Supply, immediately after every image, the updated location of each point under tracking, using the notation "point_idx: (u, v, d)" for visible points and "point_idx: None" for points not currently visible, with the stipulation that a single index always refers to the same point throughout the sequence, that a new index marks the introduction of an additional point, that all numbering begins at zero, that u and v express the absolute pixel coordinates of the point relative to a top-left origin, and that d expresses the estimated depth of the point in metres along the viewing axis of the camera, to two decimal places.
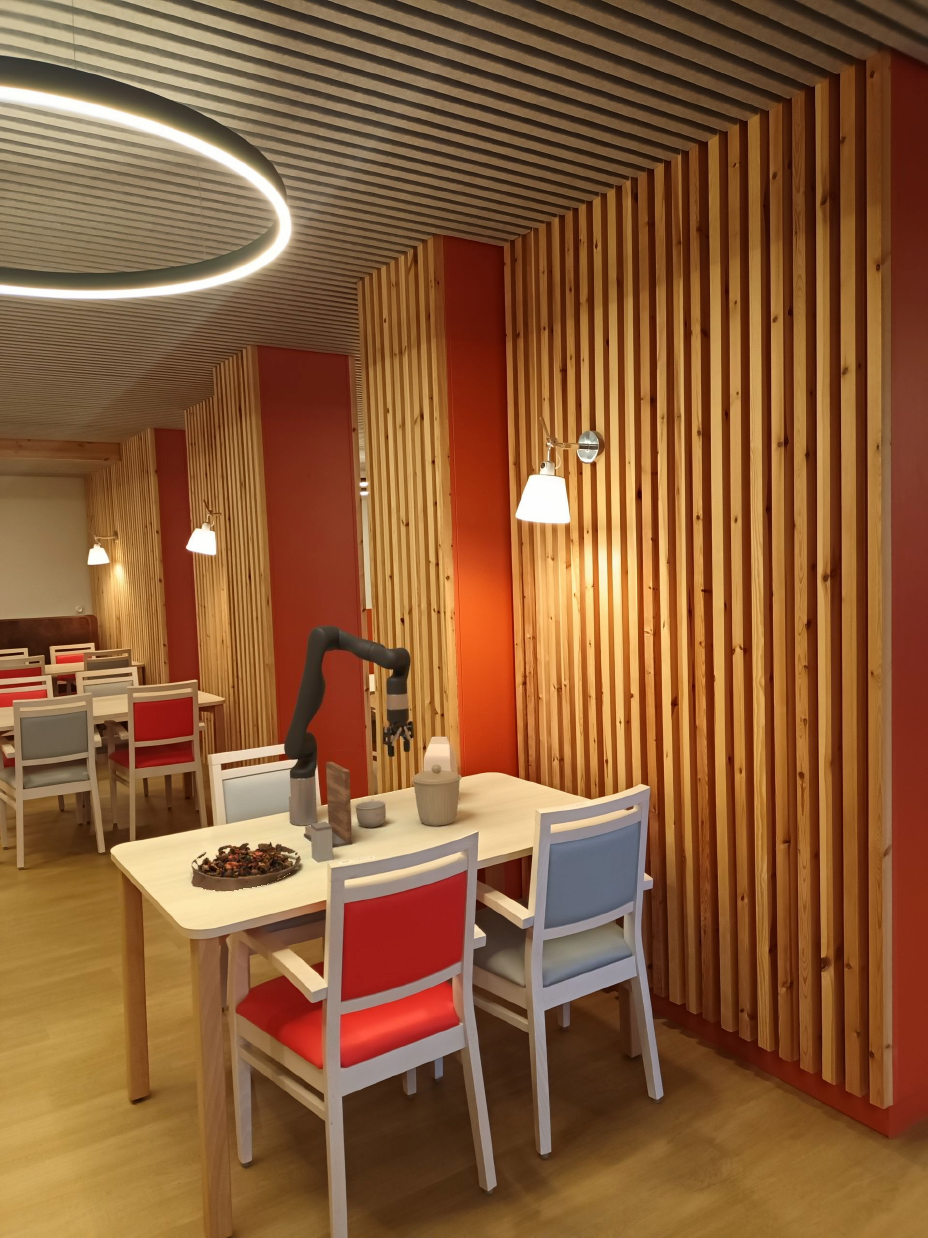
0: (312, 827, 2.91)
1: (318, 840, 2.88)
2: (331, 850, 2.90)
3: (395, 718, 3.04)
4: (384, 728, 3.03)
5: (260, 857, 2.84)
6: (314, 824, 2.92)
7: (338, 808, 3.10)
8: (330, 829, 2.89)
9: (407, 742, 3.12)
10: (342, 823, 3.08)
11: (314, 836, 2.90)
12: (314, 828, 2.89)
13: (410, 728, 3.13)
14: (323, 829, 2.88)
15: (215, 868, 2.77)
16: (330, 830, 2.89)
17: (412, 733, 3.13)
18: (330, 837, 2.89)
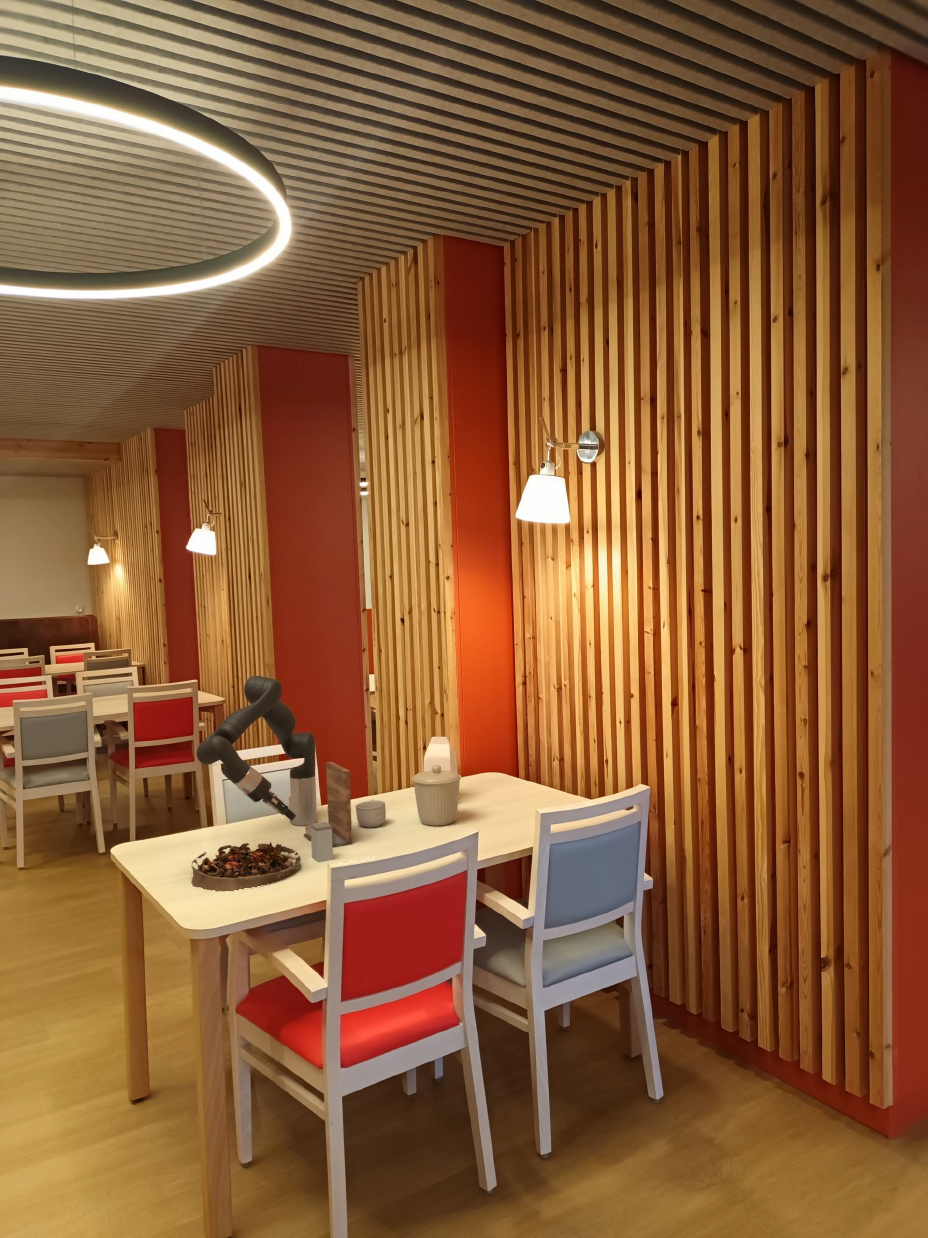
0: (312, 827, 2.91)
1: (318, 840, 2.88)
2: (331, 850, 2.90)
3: None
4: None
5: (260, 857, 2.84)
6: (314, 824, 2.92)
7: (338, 808, 3.10)
8: (330, 829, 2.89)
9: None
10: (342, 823, 3.08)
11: (314, 836, 2.90)
12: (314, 828, 2.89)
13: None
14: (323, 829, 2.88)
15: (215, 868, 2.77)
16: (330, 830, 2.89)
17: (279, 810, 2.77)
18: (330, 837, 2.89)
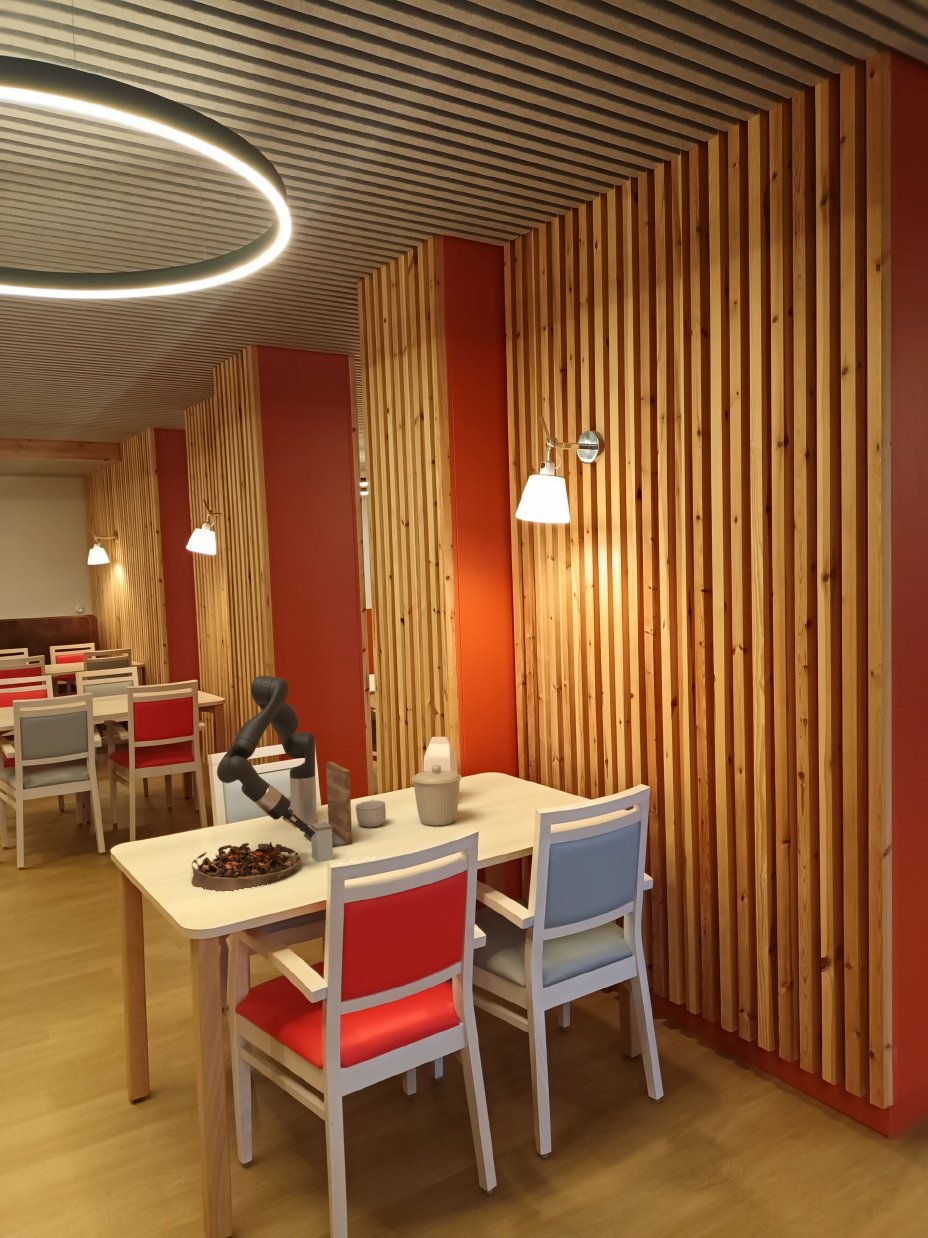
0: (312, 827, 2.91)
1: (318, 840, 2.88)
2: (331, 850, 2.90)
3: None
4: None
5: (260, 857, 2.84)
6: (314, 824, 2.92)
7: (338, 808, 3.10)
8: (330, 829, 2.89)
9: None
10: (342, 823, 3.08)
11: (314, 836, 2.90)
12: (314, 828, 2.89)
13: None
14: (323, 829, 2.88)
15: (215, 868, 2.77)
16: (330, 830, 2.89)
17: None
18: (330, 837, 2.89)
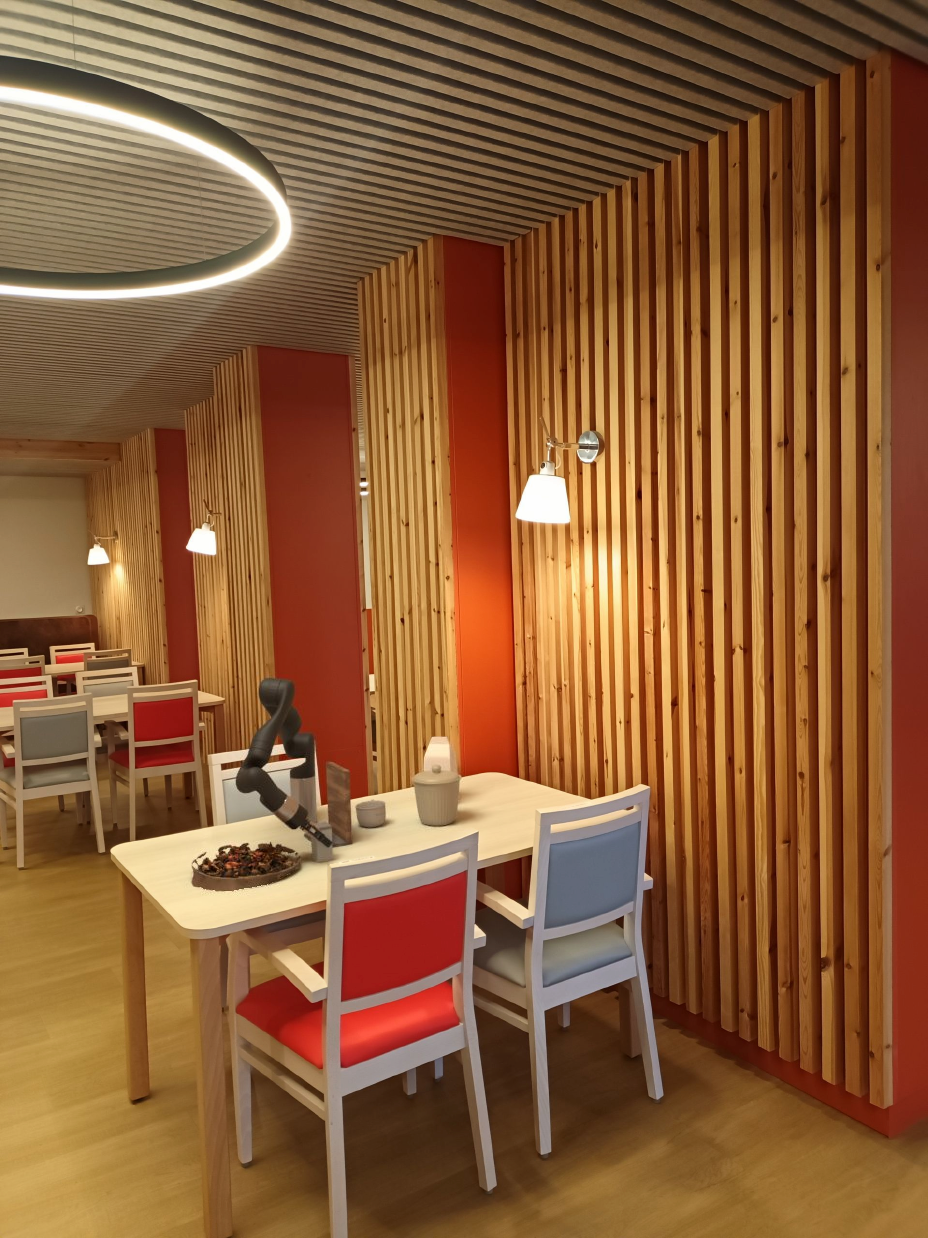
0: None
1: None
2: (331, 850, 2.90)
3: None
4: None
5: (260, 857, 2.84)
6: (314, 824, 2.92)
7: (338, 808, 3.10)
8: (330, 829, 2.89)
9: None
10: (342, 823, 3.08)
11: None
12: None
13: None
14: (323, 829, 2.88)
15: (215, 868, 2.77)
16: (330, 830, 2.89)
17: (316, 838, 2.85)
18: (330, 837, 2.89)
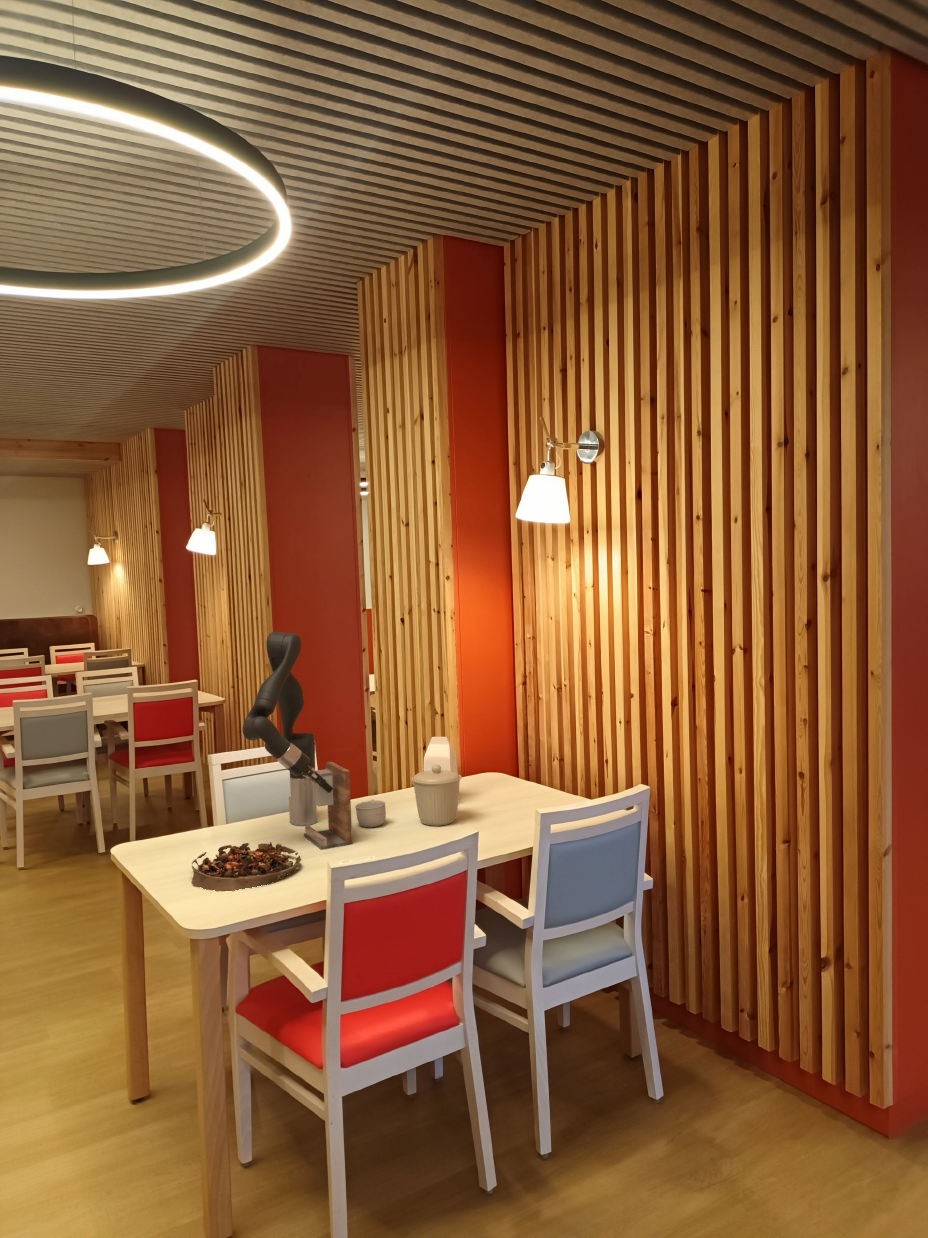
0: None
1: (319, 786, 3.06)
2: (332, 795, 3.08)
3: None
4: None
5: (260, 857, 2.84)
6: (316, 771, 3.10)
7: (338, 808, 3.10)
8: (331, 775, 3.08)
9: None
10: (342, 823, 3.08)
11: None
12: None
13: None
14: (324, 775, 3.07)
15: (215, 868, 2.77)
16: (331, 776, 3.08)
17: (318, 784, 3.03)
18: (331, 783, 3.08)
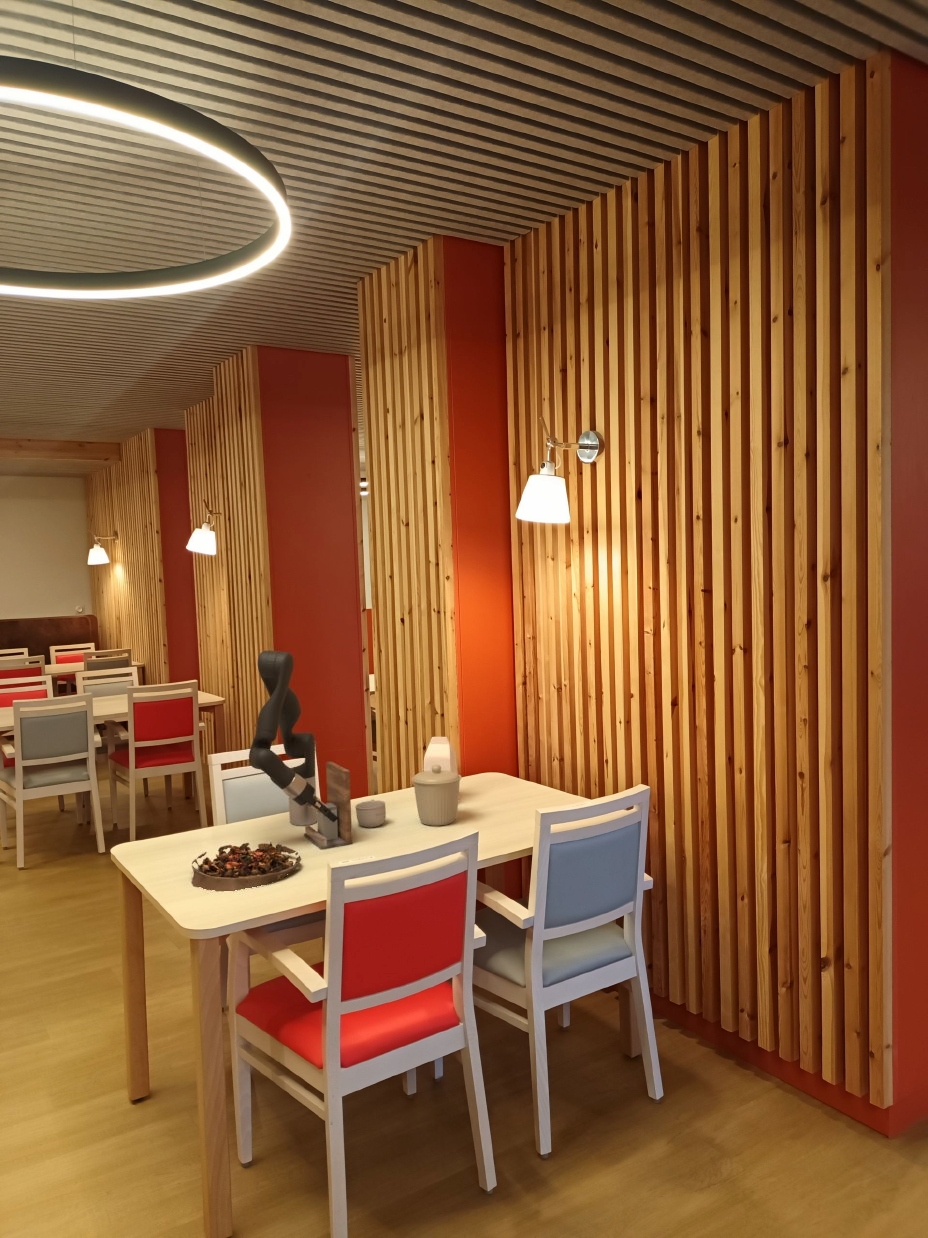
0: None
1: (324, 820, 3.07)
2: (336, 829, 3.10)
3: None
4: None
5: (260, 857, 2.84)
6: None
7: (338, 808, 3.10)
8: (335, 809, 3.09)
9: None
10: (342, 823, 3.08)
11: (320, 816, 3.10)
12: None
13: None
14: None
15: (215, 868, 2.77)
16: (335, 810, 3.09)
17: (322, 813, 3.04)
18: None
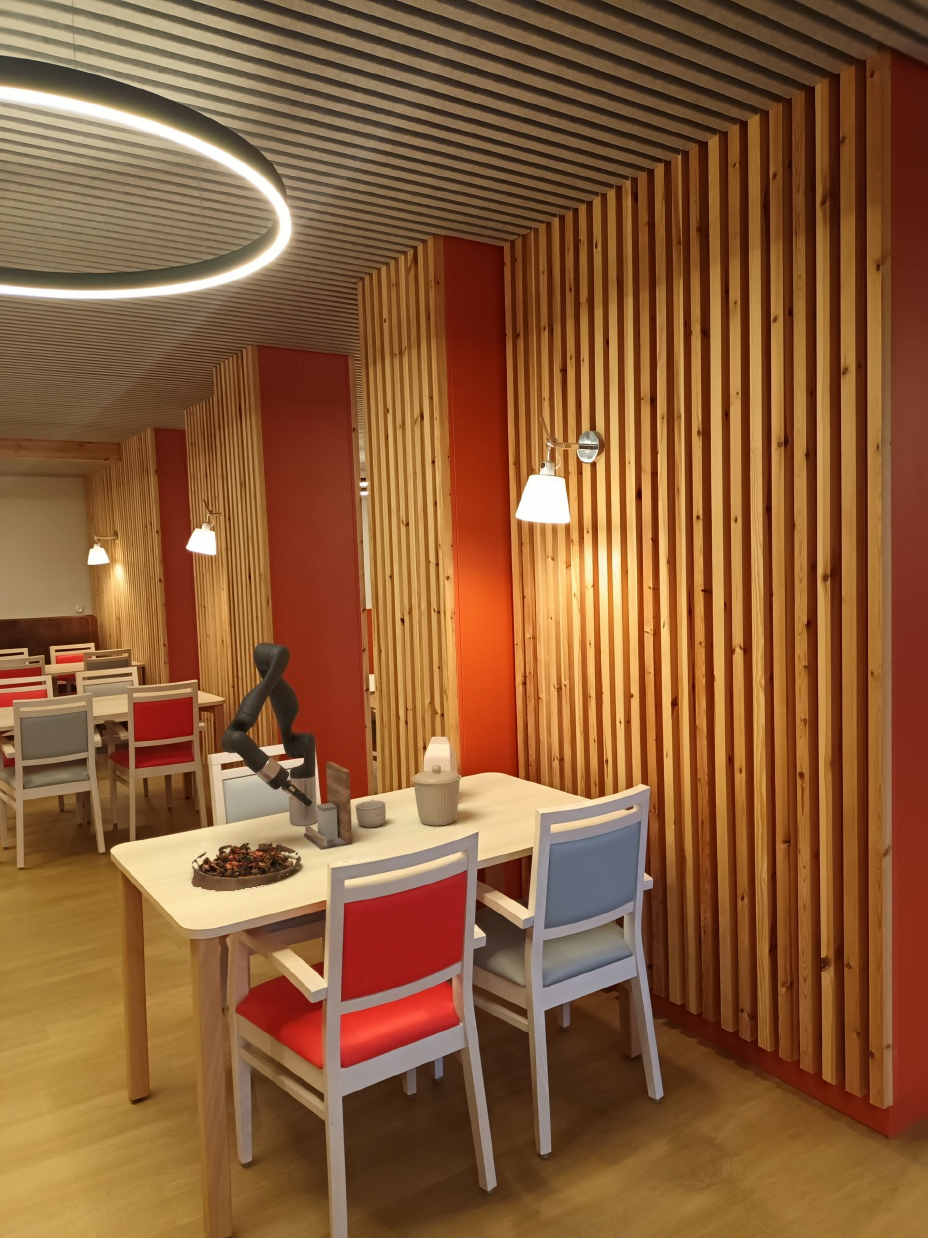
0: (318, 808, 3.11)
1: (324, 820, 3.07)
2: (336, 829, 3.10)
3: None
4: None
5: (260, 857, 2.84)
6: (320, 805, 3.12)
7: (338, 808, 3.10)
8: (335, 809, 3.09)
9: None
10: (342, 823, 3.08)
11: (320, 816, 3.10)
12: (320, 808, 3.09)
13: None
14: (329, 809, 3.08)
15: (215, 868, 2.77)
16: (335, 810, 3.09)
17: (296, 797, 2.99)
18: (335, 817, 3.09)
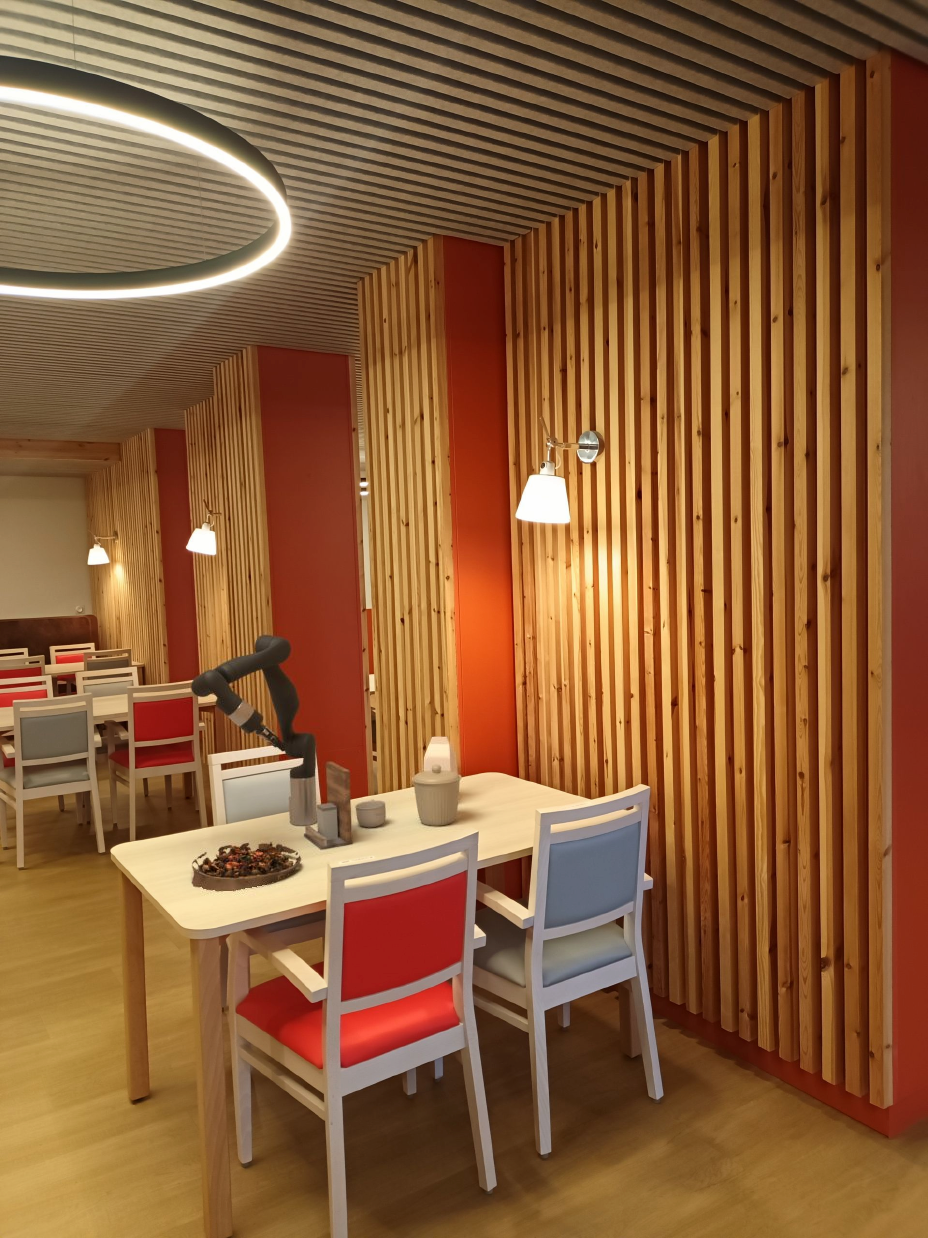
0: (318, 808, 3.11)
1: (324, 820, 3.07)
2: (336, 829, 3.10)
3: None
4: None
5: (260, 857, 2.83)
6: (320, 805, 3.12)
7: (338, 808, 3.10)
8: (335, 809, 3.09)
9: None
10: (342, 823, 3.08)
11: (320, 816, 3.10)
12: (320, 808, 3.09)
13: None
14: (329, 809, 3.08)
15: (215, 868, 2.77)
16: (335, 810, 3.09)
17: (270, 741, 2.91)
18: (335, 817, 3.09)
